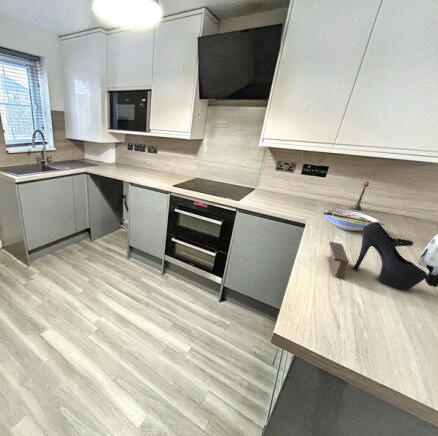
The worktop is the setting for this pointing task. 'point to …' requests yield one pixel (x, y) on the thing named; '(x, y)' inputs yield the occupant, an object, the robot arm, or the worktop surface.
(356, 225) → the ramen bowl
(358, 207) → the wooden tabletop sculpture
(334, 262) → the shoe rack rail
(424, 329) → the worktop surface
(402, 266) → the high-heeled shoe
